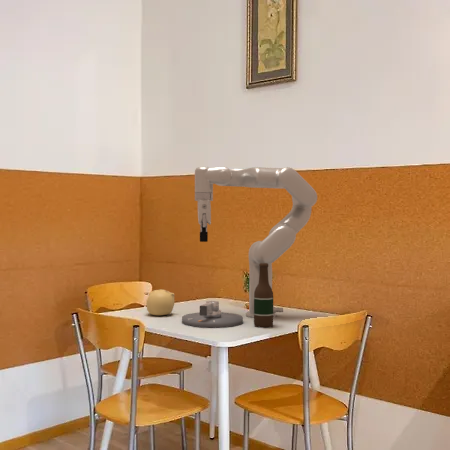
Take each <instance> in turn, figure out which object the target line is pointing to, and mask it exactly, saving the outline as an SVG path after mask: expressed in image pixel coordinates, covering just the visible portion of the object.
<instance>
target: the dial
mask: <svg viewBox="0 0 450 450" xmlns="http://www.w3.org/2000/svg"><path fill="white" fill-rule="evenodd" d="M205 302H206V303H204V304H201V305H199V313H200V315H201V316H204V317H207V318H218V317H221V312H222V310H221V309H220V302H219V301H218V300H208V301H205Z"/></svg>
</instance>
